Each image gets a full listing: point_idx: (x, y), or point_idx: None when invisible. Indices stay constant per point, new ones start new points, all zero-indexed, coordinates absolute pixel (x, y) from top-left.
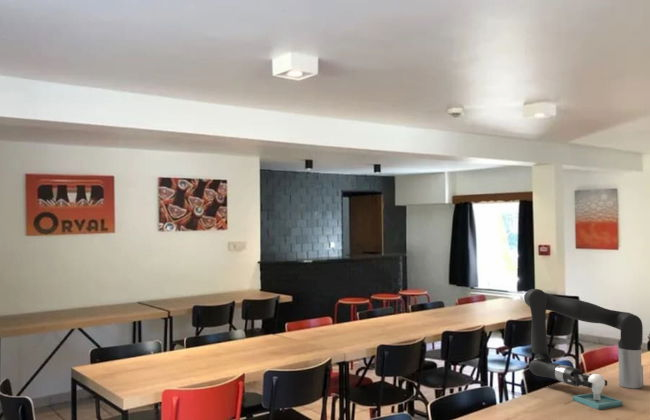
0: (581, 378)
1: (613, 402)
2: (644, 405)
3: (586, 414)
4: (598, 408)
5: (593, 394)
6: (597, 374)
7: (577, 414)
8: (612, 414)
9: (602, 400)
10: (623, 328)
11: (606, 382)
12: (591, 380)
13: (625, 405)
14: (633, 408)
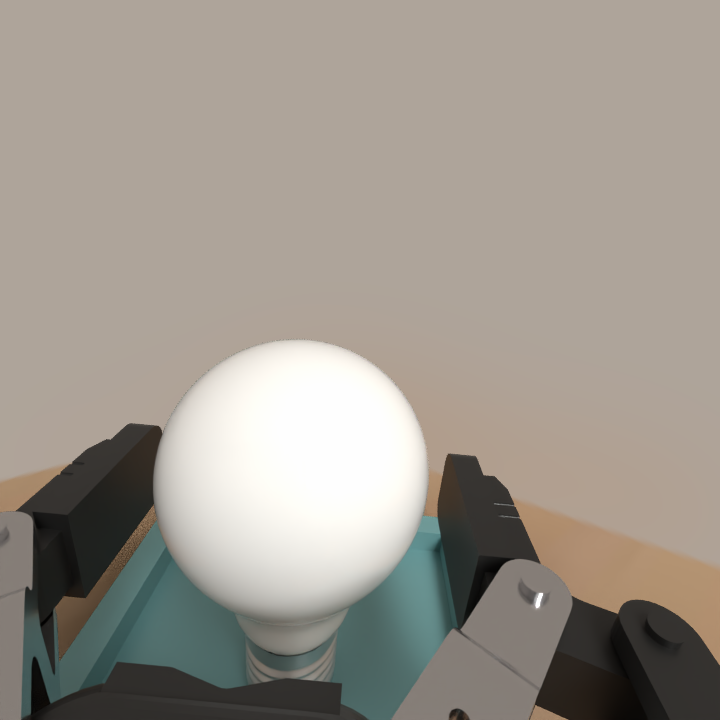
0: (489, 649)
1: None
2: (42, 470)
3: (620, 534)
4: None
5: (332, 641)
6: (312, 340)
7: (701, 561)
8: (433, 471)
9: (224, 646)
10: None
11: (154, 442)
12: (425, 444)
13: (144, 522)
14: None
